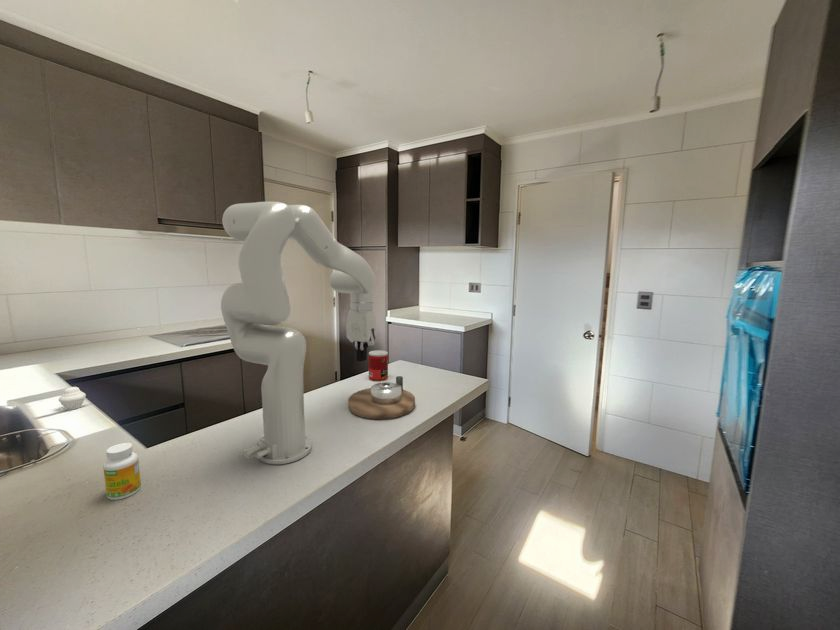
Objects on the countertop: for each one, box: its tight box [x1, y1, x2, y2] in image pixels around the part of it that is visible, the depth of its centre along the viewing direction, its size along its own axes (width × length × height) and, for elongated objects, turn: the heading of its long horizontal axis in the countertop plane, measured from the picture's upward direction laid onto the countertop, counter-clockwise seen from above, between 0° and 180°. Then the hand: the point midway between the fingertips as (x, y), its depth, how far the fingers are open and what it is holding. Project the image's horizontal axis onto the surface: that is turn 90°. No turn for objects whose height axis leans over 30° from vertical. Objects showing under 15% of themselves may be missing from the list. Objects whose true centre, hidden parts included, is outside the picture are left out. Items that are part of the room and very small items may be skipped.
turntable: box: [347, 375, 416, 420], centre depth 117 cm, size 22×22×7 cm
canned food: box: [368, 349, 389, 382], centre depth 144 cm, size 8×8×11 cm
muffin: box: [58, 386, 87, 411], centre depth 111 cm, size 6×6×7 cm
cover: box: [370, 381, 401, 405], centre depth 116 cm, size 10×10×5 cm
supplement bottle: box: [102, 442, 142, 501], centre depth 71 cm, size 5×5×10 cm
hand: (361, 360), depth 120 cm, fingers closed
